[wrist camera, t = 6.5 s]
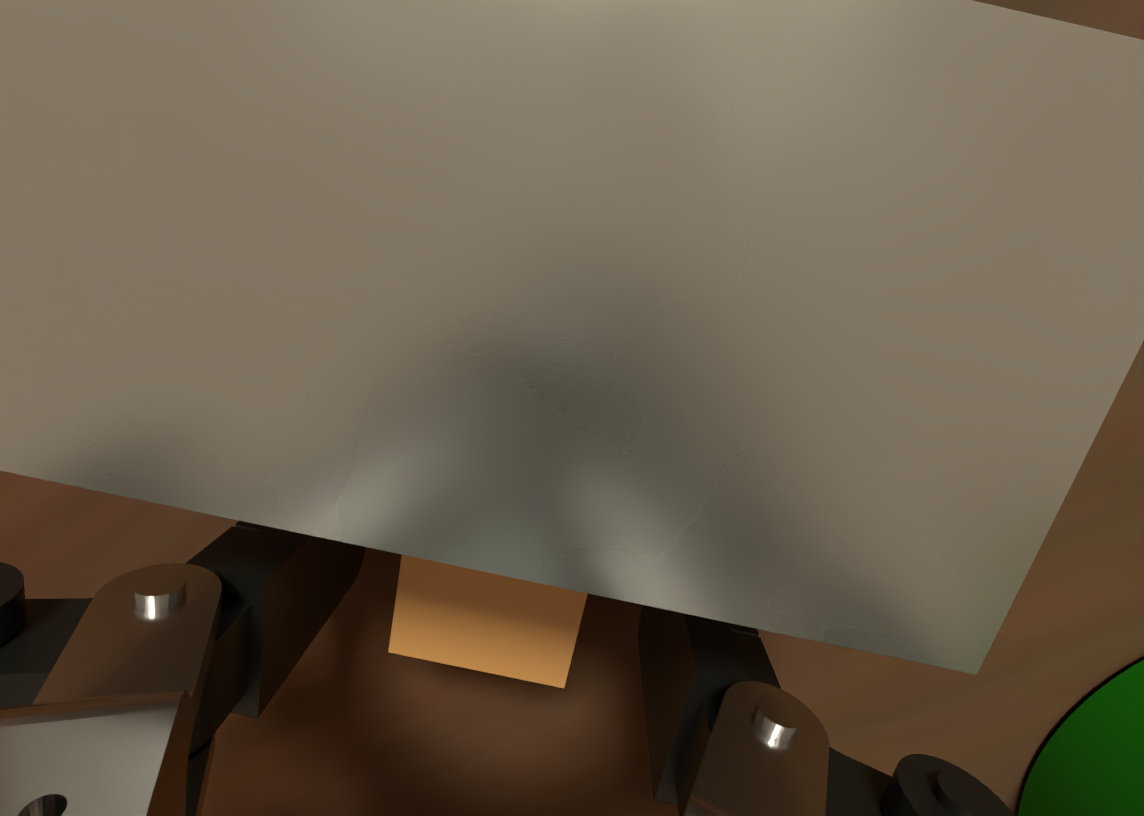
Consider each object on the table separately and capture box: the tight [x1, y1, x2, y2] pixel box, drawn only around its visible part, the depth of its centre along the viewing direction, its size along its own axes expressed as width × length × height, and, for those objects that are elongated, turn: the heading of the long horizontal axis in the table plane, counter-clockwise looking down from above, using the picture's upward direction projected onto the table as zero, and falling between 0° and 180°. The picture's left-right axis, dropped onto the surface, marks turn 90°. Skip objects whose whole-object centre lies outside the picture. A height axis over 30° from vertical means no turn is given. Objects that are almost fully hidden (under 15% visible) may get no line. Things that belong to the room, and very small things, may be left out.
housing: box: [0, 0, 1144, 675], centre depth 8 cm, size 5×9×6 cm, turn 78°
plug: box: [388, 555, 588, 688], centre depth 9 cm, size 15×4×4 cm, turn 168°
